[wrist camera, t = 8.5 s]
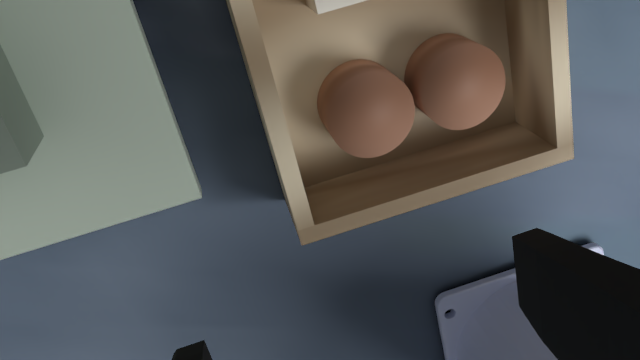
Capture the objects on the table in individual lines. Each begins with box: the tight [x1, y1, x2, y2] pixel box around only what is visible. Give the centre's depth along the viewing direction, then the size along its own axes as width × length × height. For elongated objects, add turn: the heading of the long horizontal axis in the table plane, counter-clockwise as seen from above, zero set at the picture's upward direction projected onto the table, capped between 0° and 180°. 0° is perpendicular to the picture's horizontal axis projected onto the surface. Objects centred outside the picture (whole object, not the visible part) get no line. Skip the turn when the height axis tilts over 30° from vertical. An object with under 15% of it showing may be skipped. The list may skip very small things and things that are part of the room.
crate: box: [226, 0, 574, 246], centre depth 20 cm, size 13×10×4 cm
